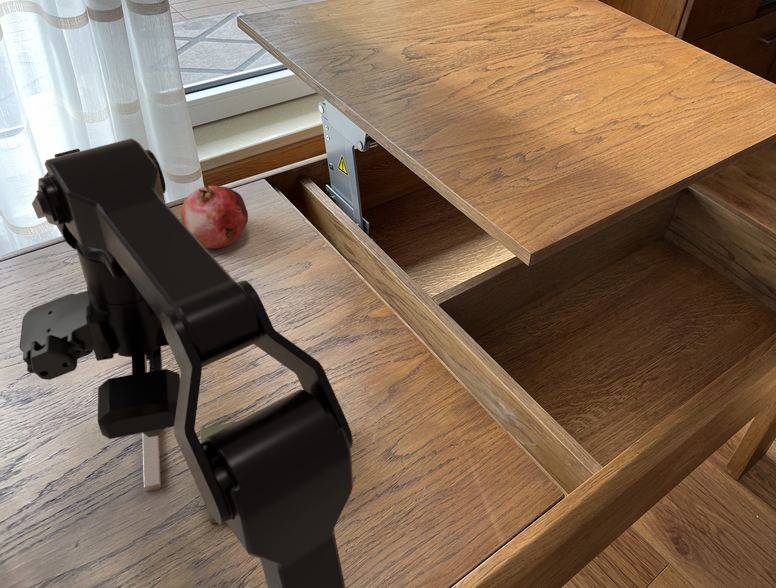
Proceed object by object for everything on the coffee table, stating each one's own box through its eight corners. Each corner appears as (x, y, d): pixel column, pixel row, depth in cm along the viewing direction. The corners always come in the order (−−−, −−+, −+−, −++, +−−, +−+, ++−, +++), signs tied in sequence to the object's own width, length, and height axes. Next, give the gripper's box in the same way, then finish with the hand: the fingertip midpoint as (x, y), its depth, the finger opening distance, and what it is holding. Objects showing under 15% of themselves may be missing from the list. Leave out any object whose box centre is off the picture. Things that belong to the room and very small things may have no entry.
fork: (163, 483, 75) (158, 387, 84) (140, 488, 74) (138, 391, 83) (164, 488, 75) (159, 392, 84) (141, 493, 75) (139, 396, 83)
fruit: (247, 214, 110) (243, 161, 104) (251, 256, 103) (247, 201, 97) (184, 218, 107) (176, 164, 101) (183, 261, 101) (174, 205, 94)
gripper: (23, 218, 62) (62, 336, 72) (0, 389, 49) (52, 503, 60) (161, 205, 66) (180, 318, 76) (172, 360, 53) (194, 472, 63)
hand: (152, 394), depth 69 cm, fingers open, 9 cm apart
